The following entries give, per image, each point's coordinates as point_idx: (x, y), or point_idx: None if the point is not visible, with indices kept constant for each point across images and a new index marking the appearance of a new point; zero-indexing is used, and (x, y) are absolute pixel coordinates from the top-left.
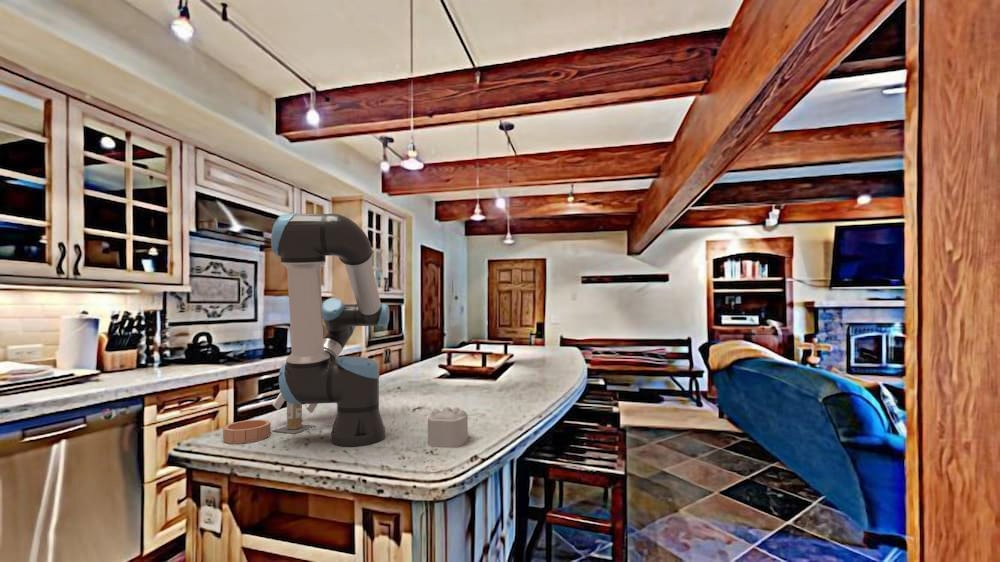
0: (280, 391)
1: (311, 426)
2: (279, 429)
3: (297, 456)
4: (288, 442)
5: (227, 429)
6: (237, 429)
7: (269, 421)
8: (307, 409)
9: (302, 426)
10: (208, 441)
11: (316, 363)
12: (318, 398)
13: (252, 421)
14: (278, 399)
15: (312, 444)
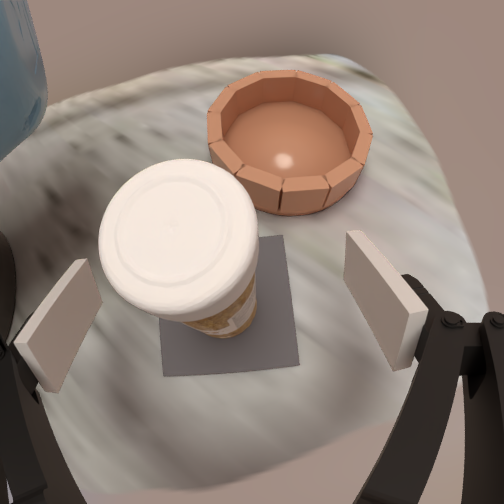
0: (432, 300)
1: (172, 358)
2: (268, 261)
3: (31, 136)
4: (109, 180)
5: (291, 73)
6: (351, 142)
7: (255, 182)
8: (91, 273)
9: (212, 342)
10: (354, 98)
11: None
12: None
13: (341, 166)
14: (363, 258)
15: (37, 202)
